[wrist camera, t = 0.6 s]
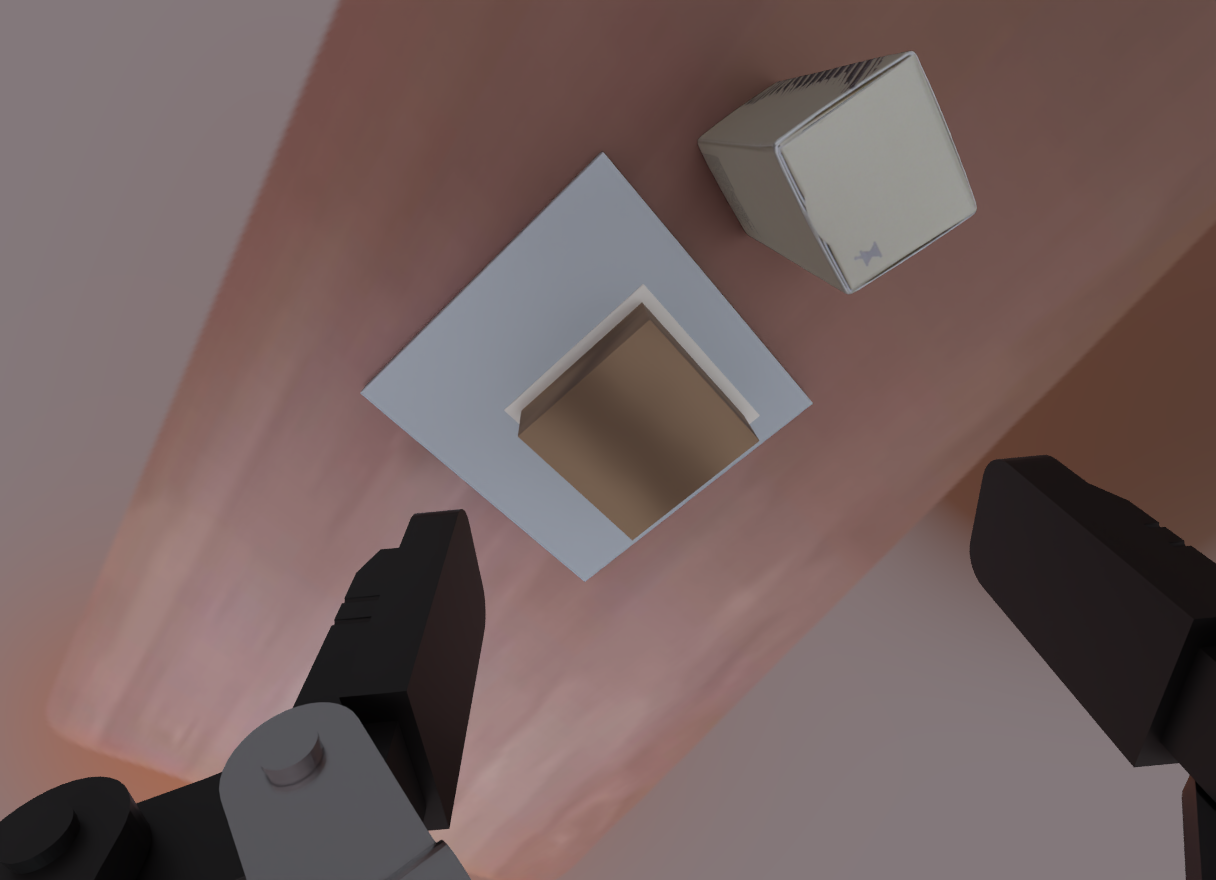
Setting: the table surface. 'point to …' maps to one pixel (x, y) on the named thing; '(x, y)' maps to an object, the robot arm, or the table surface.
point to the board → (567, 355)
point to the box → (843, 169)
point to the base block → (635, 424)
